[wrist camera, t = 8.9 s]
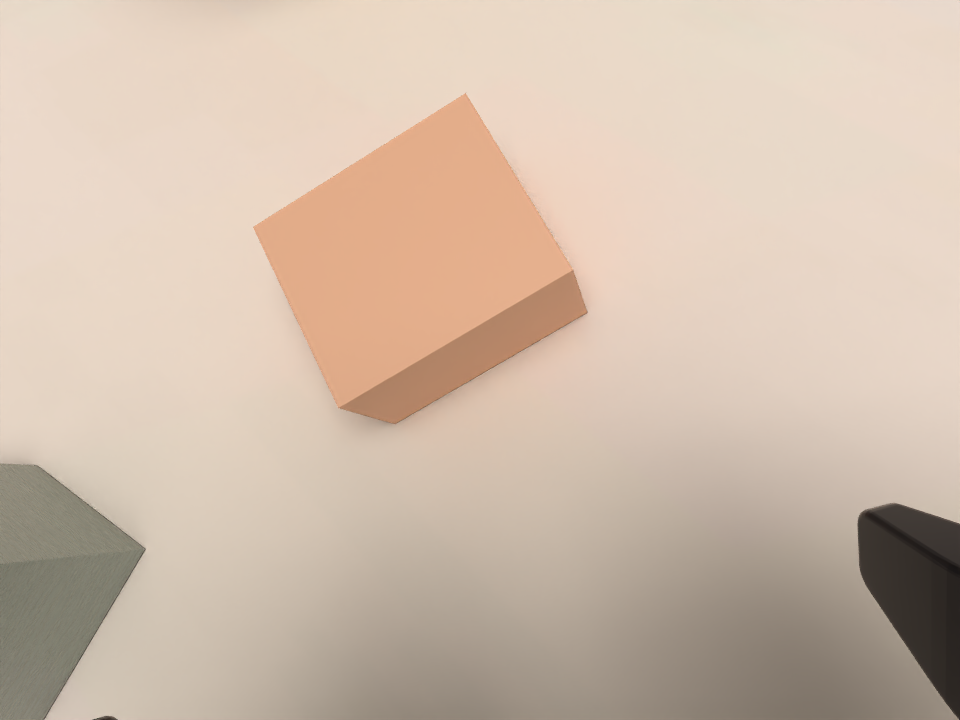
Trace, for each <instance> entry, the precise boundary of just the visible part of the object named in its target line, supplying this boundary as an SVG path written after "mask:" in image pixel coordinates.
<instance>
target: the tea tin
mask: <svg viewBox="0 0 960 720" xmlns="http://www.w3.org/2000/svg"><path fill="white" fill-rule="evenodd" d="M144 550H145V548H143V547H142V546H141V545H139V544H138V543H137V542H135V541H134V540H133V539H132V538H130V537H129V536H128V535H126V534H125V533H124V532H123V531H121V530H120V529H119V528H117V527H116V526H115V525H113V524H112V523H111V522H110V521H108V520H107V519H106V518H104V517H103V516H102V515H100V514H99V513H98V512H97V511H95V510H94V509H93V508H91V507H90V506H89V505H88V504H86V503H85V502H84V501H82V500H81V499H80V498H78V497H77V496H76V495H75V494H73V493H72V492H71V491H69V490H68V489H67V488H66V487H64V486H63V485H62V484H60V483H59V482H58V481H56V480H55V479H54V478H53V477H51V476H50V475H49V474H47V473H46V472H45V471H44V470H42V469H41V468H40V467H38V466H37V465H18V464H0V720H43V719H44V718H45V716H46V714H47V713H48V711H49V709H50V708H51V706H52V704H53V703H54V701H55V699H56V698H57V696H58V694H59V693H60V691H61V689H62V688H63V686H64V684H65V683H66V681H67V679H68V678H69V676H70V674H71V672H72V671H73V669H74V667H75V666H76V664H77V662H78V661H79V659H80V657H81V656H82V654H83V652H84V651H85V649H86V647H87V646H88V644H89V642H90V641H91V639H92V637H93V636H94V634H95V632H96V631H97V629H98V627H99V626H100V624H101V622H102V621H103V619H104V617H105V615H106V614H107V612H108V610H109V609H110V607H111V605H112V604H113V602H114V600H115V599H116V597H117V595H118V594H119V592H120V590H121V589H122V587H123V585H124V584H125V582H126V580H127V579H128V577H129V575H130V574H131V572H132V570H133V569H134V567H135V565H136V563H137V562H138V560H139V558H140V557H141V555H142V553H143V552H144Z"/></svg>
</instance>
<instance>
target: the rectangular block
mask: <svg viewBox="0 0 960 720" xmlns="http://www.w3.org/2000/svg"><path fill="white" fill-rule="evenodd" d="M253 228H254V230H255V232H256V234H257V236H258V238H259V241H260V243H261V245H262V247H263V249H264V251H265V253H266V255H267V257H268V260H269V262H270V264H271V266H272V268H273V270H274V272H275V274H276V277H277V279H278V281H279V283H280V285H281V287H282V289H283V291H284V294H285V296H286V298H287V300H288V302H289V304H290V306H291V308H292V310H293V313H294V315H295V317H296V319H297V321H298V323H299V325H300V327H301V330H302V332H303V334H304V336H305V338H306V340H307V342H308V344H309V347H310V349H311V351H312V353H313V355H314V357H315V359H316V361H317V364H318V366H319V368H320V370H321V372H322V374H323V376H324V378H325V380H326V383H327V385H328V387H329V389H330V391H331V393H332V395H333V397H334V400H335V402H336V404H337V406H338V408H340V409H344V410H347V411H351V412H354V413H358V414H362V415H365V416H369V417H372V418H376V419H379V420H383V421H386V422H390V423H393V424H396V423H398V422H399V421H401V420H403V419H404V418H406V417H408V416H410V415H411V414H413V413H415V412H417V411H418V410H420V409H422V408H423V407H425V406H427V405H429V404H430V403H432V402H434V401H436V400H437V399H439V398H441V397H442V396H444V395H446V394H448V393H449V392H451V391H453V390H454V389H456V388H458V387H460V386H461V385H463V384H465V383H467V382H468V381H470V380H472V379H473V378H475V377H477V376H479V375H480V374H482V373H484V372H486V371H487V370H489V369H491V368H492V367H494V366H496V365H498V364H499V363H501V362H503V361H505V360H506V359H508V358H510V357H511V356H513V355H515V354H517V353H518V352H520V351H522V350H523V349H525V348H527V347H529V346H530V345H532V344H534V343H536V342H537V341H539V340H541V339H542V338H544V337H546V336H548V335H549V334H551V333H553V332H555V331H556V330H558V329H560V328H561V327H563V326H565V325H567V324H568V323H570V322H572V321H573V320H575V319H577V318H579V317H580V316H582V315H584V314H586V313H587V310H586V307H585V304H584V301H583V298H582V295H581V292H580V289H579V286H578V283H577V280H576V277H575V274H574V271H573V269H572V267H571V266H570V264H569V262H568V261H567V259H566V257H565V256H564V254H563V253H562V251H561V249H560V248H559V246H558V244H557V243H556V241H555V239H554V238H553V236H552V234H551V233H550V231H549V229H548V228H547V226H546V225H545V223H544V221H543V220H542V218H541V216H540V215H539V213H538V211H537V210H536V208H535V206H534V205H533V203H532V202H531V200H530V198H529V197H528V195H527V193H526V192H525V190H524V188H523V187H522V185H521V183H520V182H519V180H518V178H517V177H516V175H515V174H514V172H513V170H512V169H511V167H510V165H509V164H508V162H507V160H506V159H505V157H504V155H503V154H502V152H501V151H500V149H499V147H498V146H497V144H496V142H495V141H494V139H493V137H492V136H491V134H490V132H489V131H488V129H487V127H486V126H485V124H484V123H483V121H482V119H481V118H480V116H479V114H478V113H477V111H476V109H475V108H474V106H473V104H472V103H471V101H470V100H469V98H468V96H467V95H466V93H465V94H464V95H462V96H461V97H459V98H457V99H456V100H454V101H453V102H451V103H449V104H448V105H446V106H445V107H443V108H441V109H440V110H438V111H437V112H435V113H434V114H432V115H430V116H429V117H427V118H426V119H424V120H422V121H421V122H419V123H418V124H416V125H414V126H413V127H411V128H410V129H408V130H407V131H405V132H403V133H402V134H400V135H399V136H397V137H395V138H394V139H392V140H391V141H389V142H387V143H386V144H384V145H383V146H381V147H380V148H378V149H376V150H375V151H373V152H372V153H370V154H368V155H367V156H365V157H364V158H362V159H360V160H359V161H357V162H356V163H354V164H353V165H351V166H349V167H348V168H346V169H345V170H343V171H341V172H340V173H338V174H337V175H335V176H333V177H332V178H330V179H329V180H327V181H326V182H324V183H322V184H321V185H319V186H318V187H316V188H314V189H313V190H311V191H310V192H308V193H306V194H305V195H303V196H302V197H300V198H299V199H297V200H295V201H294V202H292V203H291V204H289V205H287V206H286V207H284V208H283V209H281V210H279V211H278V212H276V213H275V214H273V215H272V216H270V217H268V218H267V219H265V220H264V221H262V222H260V223H259V224H257V225H256V226H254V227H253Z"/></svg>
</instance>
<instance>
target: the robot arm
mask: <svg viewBox="0 0 960 720" xmlns="http://www.w3.org/2000/svg"><path fill="white" fill-rule="evenodd" d="M858 546H859V566H860V571H861V575H862V578H863V580H864V582H865V584H866V586H867V588H868V589H869V591H870V592H871V594H872V595H873V597H874V598H875V600H876V601H877V603H878V604H879V606H880V607H881V609H882V610H883V612H884V613H885V615H886V616H887V618H888V619H889V620H890V622H891V623H892V625H893V626H894V628H895V629H896V631H897V632H898V634H899V635H900V637H901V638H902V640H903V641H904V643H905V644H906V646H907V647H908V649H909V650H910V652H911V653H912V655H913V656H914V658H915V659H916V661H917V662H918V663H919V665H920V666H921V668H922V669H923V671H924V672H925V674H926V675H927V677H928V678H929V680H930V681H931V683H932V684H933V686H934V687H935V688H936V690H937V691H938V693H939V694H940V695H941V697H942V698H943V700H944V701H945V702H946V704H947V705H948V706H949V707H950V709H951V710H952V711H953V712H954V714H955V715H956V716H957V718H958V719H959V720H960V524H959V523H956V522H953V521H950V520H947V519H944V518H941V517H938V516H934V515H931V514H928V513H925V512H922V511H919V510H916V509H913V508H910V507H907V506H904V505H900V504H896V503H890V504H886V505H882V506H878V507H874V508H871V509H867V510H864V511H863V512H862V513H860V515H859V517H858ZM93 720H117V719H116V718H114V717H112V716H104V717H101V718H97V719H93Z"/></svg>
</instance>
